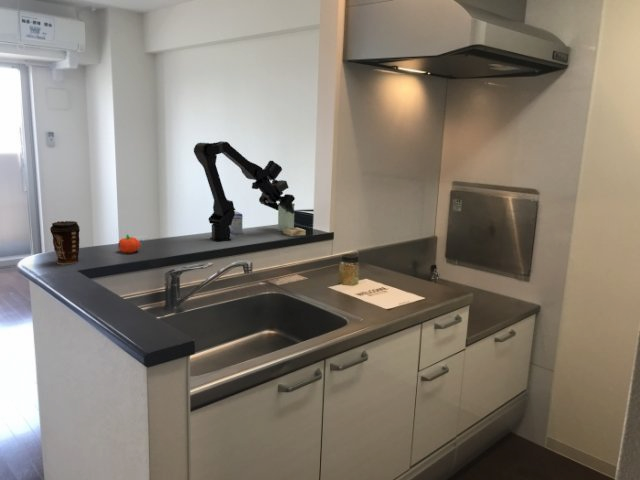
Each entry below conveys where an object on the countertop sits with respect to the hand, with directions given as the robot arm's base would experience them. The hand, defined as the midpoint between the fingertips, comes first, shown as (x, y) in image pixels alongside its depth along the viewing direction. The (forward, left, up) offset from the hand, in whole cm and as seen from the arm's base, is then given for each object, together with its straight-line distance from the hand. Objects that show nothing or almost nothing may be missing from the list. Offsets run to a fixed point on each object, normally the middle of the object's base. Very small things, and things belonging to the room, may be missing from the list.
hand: (286, 211), depth 233 cm
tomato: (-71, -12, -9) cm, 73 cm away
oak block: (-1, -9, -9) cm, 13 cm away
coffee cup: (-92, -18, -9) cm, 94 cm away
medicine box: (-22, +6, -9) cm, 25 cm away
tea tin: (0, 0, -8) cm, 9 cm away
